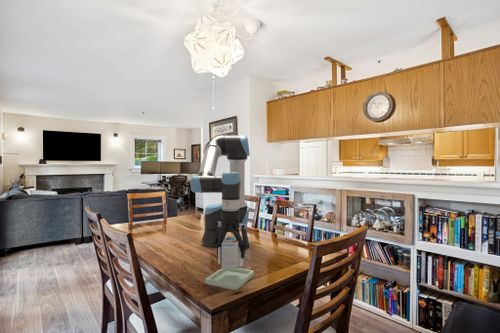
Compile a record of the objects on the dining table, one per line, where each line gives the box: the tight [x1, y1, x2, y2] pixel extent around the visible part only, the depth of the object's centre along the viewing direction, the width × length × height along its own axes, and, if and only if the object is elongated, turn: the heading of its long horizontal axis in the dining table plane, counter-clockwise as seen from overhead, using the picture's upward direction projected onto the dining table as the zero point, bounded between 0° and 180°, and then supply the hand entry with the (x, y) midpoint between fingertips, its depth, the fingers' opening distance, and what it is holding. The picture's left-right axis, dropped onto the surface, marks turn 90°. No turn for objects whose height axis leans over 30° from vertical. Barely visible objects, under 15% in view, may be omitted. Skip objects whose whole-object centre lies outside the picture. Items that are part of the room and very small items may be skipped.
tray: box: [204, 267, 255, 292], centre depth 114 cm, size 14×16×2 cm
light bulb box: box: [221, 235, 240, 270], centre depth 114 cm, size 11×7×11 cm, turn 0°
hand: (230, 264), depth 113 cm, fingers closed on light bulb box, 9 cm apart
